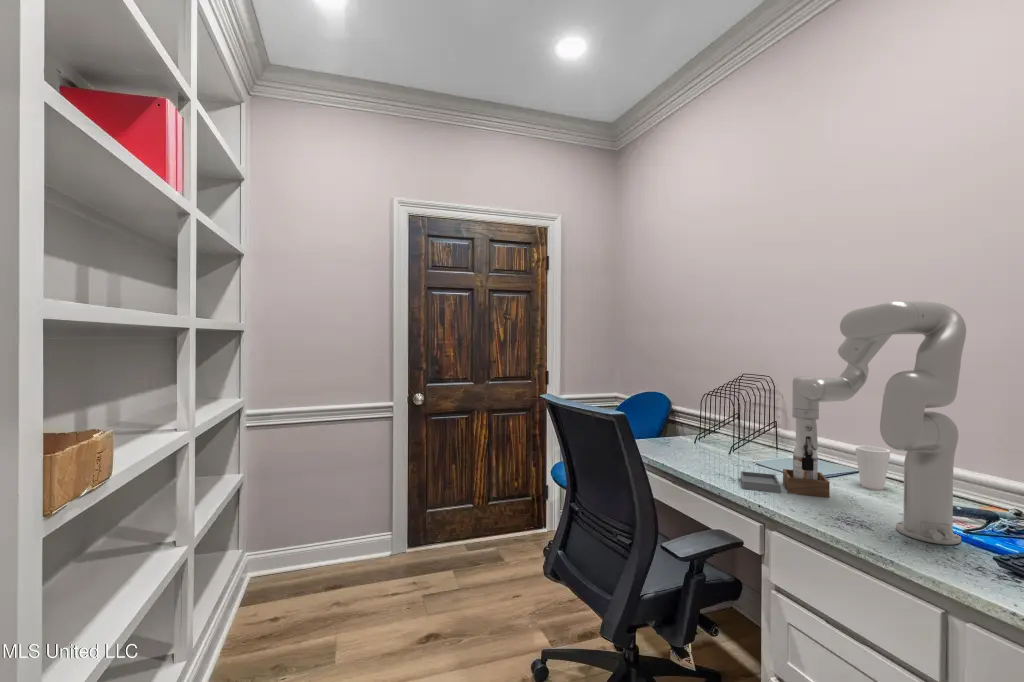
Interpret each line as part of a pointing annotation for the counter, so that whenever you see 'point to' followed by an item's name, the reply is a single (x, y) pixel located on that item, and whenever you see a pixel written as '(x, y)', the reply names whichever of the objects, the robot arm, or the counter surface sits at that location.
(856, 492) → the counter surface
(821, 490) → the small wooden crate
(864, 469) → the foam cup
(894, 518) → the counter surface
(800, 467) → the bath foam
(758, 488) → the tray
